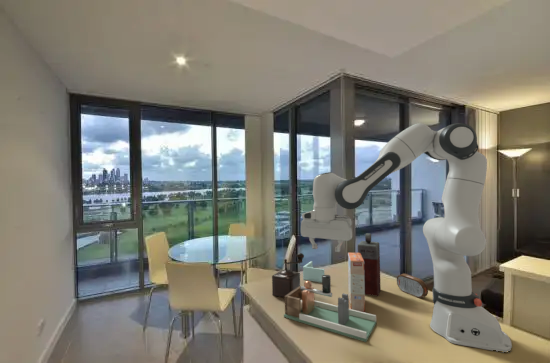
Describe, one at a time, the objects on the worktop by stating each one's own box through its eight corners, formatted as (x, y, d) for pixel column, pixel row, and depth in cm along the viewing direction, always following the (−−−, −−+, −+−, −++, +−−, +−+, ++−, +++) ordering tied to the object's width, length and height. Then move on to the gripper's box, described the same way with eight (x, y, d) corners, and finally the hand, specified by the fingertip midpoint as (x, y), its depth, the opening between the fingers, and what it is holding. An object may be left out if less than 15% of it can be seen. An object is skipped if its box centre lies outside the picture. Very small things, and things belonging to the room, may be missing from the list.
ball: (297, 300, 113) (302, 309, 112) (292, 304, 110) (297, 313, 109) (303, 296, 112) (309, 305, 110) (299, 300, 108) (304, 309, 107)
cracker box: (366, 312, 109) (364, 260, 109) (350, 311, 110) (349, 260, 110) (362, 298, 123) (360, 252, 123) (348, 297, 124) (347, 251, 124)
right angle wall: (324, 283, 142) (323, 269, 142) (303, 280, 148) (302, 266, 148) (330, 276, 153) (330, 263, 153) (311, 273, 159) (310, 261, 159)
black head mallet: (334, 313, 105) (334, 274, 105) (329, 320, 100) (328, 279, 100) (305, 306, 112) (304, 269, 113) (298, 312, 107) (297, 273, 108)
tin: (428, 299, 120) (428, 280, 120) (424, 301, 118) (423, 282, 118) (400, 288, 133) (399, 271, 133) (395, 289, 132) (395, 272, 132)
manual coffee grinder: (292, 300, 122) (291, 260, 122) (271, 295, 128) (271, 257, 128) (306, 288, 136) (305, 252, 136) (287, 284, 141) (286, 250, 141)
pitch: (376, 323, 100) (375, 295, 100) (366, 342, 89) (365, 310, 89) (300, 303, 118) (300, 280, 118) (283, 317, 106) (283, 290, 107)
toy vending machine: (357, 285, 137) (355, 231, 137) (380, 289, 132) (379, 232, 132) (353, 292, 129) (352, 234, 129) (378, 296, 124) (376, 235, 124)
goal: (313, 305, 114) (313, 289, 114) (299, 318, 103) (299, 299, 104) (299, 302, 117) (299, 286, 118) (284, 313, 107) (284, 296, 107)
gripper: (354, 214, 101) (355, 251, 101) (305, 212, 112) (306, 245, 112) (348, 216, 96) (349, 255, 96) (298, 214, 107) (299, 248, 107)
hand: (326, 250), depth 104 cm, fingers open, 8 cm apart
